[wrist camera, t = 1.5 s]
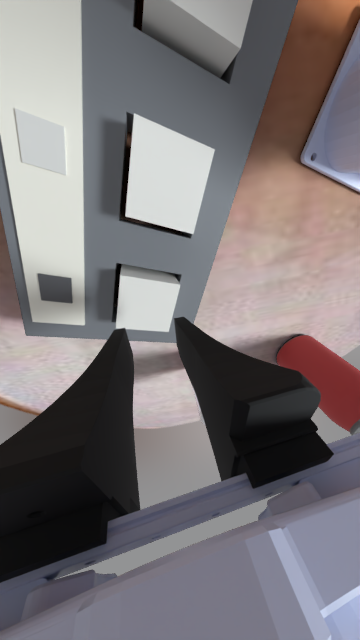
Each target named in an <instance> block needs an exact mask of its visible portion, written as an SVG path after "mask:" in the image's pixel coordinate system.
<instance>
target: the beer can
mask: <svg viewBox="0 0 360 640" xmlns="http://www.w3.org/2000/svg"><path fill="white" fill-rule="evenodd" d="M277 363H278V365H279V366H281V367H285V368H289V369H293V370H297V371H299V372H300V373H301V374H303V375H304V376H305V377H306V378H307V379H308V380H309V381H310V382H311V383H312V384H313V385H314V386H315V387H316V388H317V389H318V390H319V391H320V393H321V401H320V403H319V405H318V407H319V408H320V409H321V410H322V411H323V412H324V413H325V414H326V415H327V416H328V417H329V418H330V419H331V420H332V421H333V422H335V423H336V424H338V425H339V426H341V427H342V428H344V429H345V430H347V431H349V432H350V433H351V434H352V435H354V434H357V433H360V371H359V370H358V369H356V368H355V367H354V366H352V365H351V364H349V363H348V362H347V361H345V360H344V359H342V358H341V357H339V356H338V355H337V354H335V353H334V352H332V351H331V350H330V349H328V348H327V347H325V346H324V345H322V344H321V343H320V342H318V341H317V340H315V339H314V338H313V337H310V336H308V335H301V336H297V337H294V338H292V339H290V340H289V341H287V342H286V343H285V344H284V345H283V346H282V347H281V348H280V350H279V352H278V354H277Z"/></svg>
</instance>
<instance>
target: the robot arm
mask: <svg viewBox="0 0 360 640" xmlns="http://www.w3.org/2000/svg"><path fill="white" fill-rule="evenodd" d="M311 156H313V158H312V160H311ZM301 162H302V163H303V164H305V165H307V166H309V167H310V168H312V169H314V170H316V171H318V172H320V173H322V174H324V175H326V176H328V177H330V178H332V179H334V180H336V181H338V182H340V183H342V184H344V185H346V186H348V187H350V188H352V189H354V190H355V191H357V192H359V193H360V20H359V22H358V24H357V26H356V29H355V31H354V33H353V36H352V38H351V40H350V43H349V45H348V47H347V50H346V52H345V54H344V57H343V59H342V61H341V64H340V66H339V68H338V70H337V73H336V75H335V77H334V80H333V82H332V84H331V87H330V89H329V91H328V94H327V96H326V98H325V101H324V103H323V105H322V108H321V110H320V112H319V114H318V117H317V119H316V121H315V124H314V126H313V128H312V131H311V133H310V135H309V138H308V140H307V142H306V145H305V147H304V149H303V152H302V154H301ZM174 324H175V333H176V342H177V347H178V350H179V354H180V357H181V360H182V362H183V365H184V367H185V369H186V372H187V374H188V376H189V379H190V381H191V383H192V386H193V388H194V391H195V393H196V396H197V399H198V402H199V406H200V409H201V412H202V415H203V418H204V422H205V425H206V428H207V432H208V435H209V438H210V442H211V445H212V449H213V452H214V455H215V459H216V463H217V466H218V470H219V473H220V477H221V482H218V483H215V484H213V485H210V486H207V487H204V488H201V489H198V490H196V491H193V492H190V493H187V494H184V495H181V496H179V497H176V498H173V499H170V500H167V501H164V502H162V503H159V504H156V505H153V506H150V507H147V508H145V509H142V510H140V502H139V491H138V481H137V470H136V457H135V443H134V428H133V384H134V361H133V353H132V350H131V346H130V343H129V339H128V336H127V333H126V329H125V328H121V329H116V330H114V331H113V332H112V334H111V335H110V337H109V339H108V340H107V342H106V343H105V345H104V346H103V348H102V349H101V351H100V352H99V354H98V355H97V356H96V358H95V359H94V360H93V362H92V363H91V364H90V365H89V367H88V368H87V369H86V370H85V372H84V373H83V374H82V375H81V376H80V377H79V378H78V379H77V380H76V382H75V383H74V384H73V385H72V386H71V387H70V388H69V389H68V390H66V391H65V392H64V393H63V394H62V395H61V396H60V397H59V398H58V399H57V400H56V401H55V402H54V403H53V404H52V405H50V406H49V407H48V408H47V409H46V410H45V411H43V412H42V413H41V414H40V415H39V416H37V417H36V418H35V419H34V420H33V421H32V422H30V423H29V424H28V425H26V426H25V427H24V428H22V429H21V430H20V431H19V432H17V433H16V434H15V435H13V436H12V437H10V438H9V439H8V440H6V441H5V442H4V443H2V444H1V445H0V640H360V433H357V434H354V435H352V436H349V437H346V438H343V439H340V440H337V441H335V442H332V443H329V444H326V443H325V442H324V441H323V440H322V439H321V437H320V436H319V435H318V434H317V433H316V431H317V430H318V428H317V426H316V425H315V423H314V422H313V421H312V420H311V417H312V415H313V414H314V412H315V410H316V409H317V407H318V405H319V403H320V401H321V393H320V391H319V390H318V389H317V388H316V387H315V386H314V385H313V384H312V383H311V382H310V381H309V380H308V379H307V378H306V377H305V376H304V375H303V374H301V373H300V372H299V371H297V370H293V369H289V368H285V367H281V366H278V365H274V364H270V363H267V362H264V361H261V360H258V359H255V358H253V357H250V356H248V355H245V354H243V353H240V352H238V351H236V350H234V349H231V348H229V347H227V346H226V345H224V344H222V343H220V342H218V341H216V340H215V339H213V338H212V337H210V336H209V335H207V334H206V333H204V332H203V331H201V330H200V329H199V328H197V327H196V326H195V325H194V324H192V323H191V322H190V321H189V320H188V319H186V318H185V317H179V318H174ZM281 492H282V493H281ZM278 493H280V494H279V495H277V496H275V497H273V498H271V499H270V500H268V502H267V505H268V506H267V508H266V509H265V510H264V511H263V512H262V513H261V514H260V515H259V517H258V521H255V522H252V523H249V524H247V525H244V526H241V527H238V528H235V529H232V530H229V531H227V532H224V533H222V534H219V535H216V536H213V537H211V538H208V539H206V540H203V541H200V542H198V543H195V544H193V545H190V546H188V547H185V548H183V549H181V550H178V551H175V552H173V553H171V554H168V555H166V556H163V557H161V558H159V559H156V560H154V561H152V562H149V563H147V564H145V565H142V566H140V567H138V568H136V569H133V570H131V571H129V572H127V573H124V574H122V575H120V576H118V577H117V575H116V574H115V573H114V574H98V573H95V571H94V570H89V571H85V572H81V573H78V574H74V575H70V576H67V577H63V578H60V577H62V576H65V575H68V574H70V573H73V572H75V571H78V570H81V569H83V568H86V567H88V566H91V565H94V564H96V563H99V562H101V561H104V560H107V559H109V558H112V557H114V556H117V555H120V554H122V553H125V552H127V551H130V550H133V549H135V548H138V547H140V546H143V545H146V544H148V543H151V542H154V541H156V540H159V539H161V538H164V537H167V536H169V535H172V534H174V533H177V532H180V531H182V530H185V529H187V528H190V527H193V526H195V525H198V524H200V523H203V522H206V521H208V520H211V519H213V518H216V517H219V516H221V515H224V514H226V513H229V512H232V511H234V510H237V509H239V508H242V507H245V506H247V505H250V504H252V503H255V502H258V501H260V500H263V499H265V498H268V497H271V496H273V495H276V494H278ZM57 578H59V579H57Z"/></svg>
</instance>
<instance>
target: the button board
mask: <svg viewBox="0 0 360 640" xmlns="http://www.w3.org/2000/svg"><path fill="white" fill-rule="evenodd" d="M297 2H298V0H253V2H252V5H251V9H250V13H249V17H248V21H247V25H246V29H245V33H244V37H243V41H242V45H241V49H240V50H239V52H238V53H237V55H236V56H235V57H234V59H233V60H232V62H231V63H230V65H229V66H228V68H227V69H226V70H225V72H224V73H223V75H222V76H221V78H218V77H217V76H215V75H213V74H212V73H210V72H208V71H207V70H205V69H203V68H202V67H200V66H198V65H197V64H195V63H193V62H192V61H190V60H188V59H187V58H185V57H183V56H182V55H180V54H178V53H177V52H175V51H173V50H172V49H170V48H168V47H167V46H165V45H163V44H162V43H160V42H158V41H157V40H155V39H153V38H152V37H150V36H148V35H146V34H145V33H143V32H141V31H140V30H138V29H136V28H135V21H136V8H137V0H0V209H1V214H2V219H3V224H4V229H5V234H6V239H7V244H8V249H9V254H10V259H11V264H12V269H13V274H14V279H15V284H16V289H17V294H18V299H19V304H20V309H21V314H22V319H23V324H24V329H25V334H26V336H45V337H65V338H85V339H106V340H108V339H109V337H110V335H111V334H112V332H113V331H114V330H116V329H118V328H116V319H117V308H118V307H114V301H115V288H116V275H117V263H120V264H126V265H131V266H137V267H142V268H148V269H153V270H159V271H164V272H170V273H173V274H174V276H175V277H176V279H177V280H178V282H179V283H180V289H179V293H178V297H177V301H176V305H175V309H174V313H173V317H172V321H171V325H170V328H169V332H161V331H147V330H132V329H126V333H127V336H128V339H129V341H146V342H167V343H177V342H176V333H175V324H174V318H179V317H185V318H186V319H188V320H189V321H190V322H191V323H192V324H193V323H194V320H195V317H196V314H197V311H198V308H199V305H200V302H201V299H202V296H203V293H204V289H205V286H206V283H207V280H208V277H209V274H210V271H211V268H212V265H213V262H214V259H215V255H216V252H217V249H218V246H219V243H220V240H221V237H222V234H223V231H224V228H225V225H226V222H227V218H228V215H229V212H230V209H231V206H232V203H233V200H234V197H235V194H236V191H237V188H238V184H239V181H240V178H241V175H242V172H243V169H244V166H245V163H246V160H247V157H248V154H249V151H250V147H251V144H252V141H253V138H254V135H255V132H256V129H257V126H258V123H259V120H260V117H261V113H262V110H263V107H264V104H265V101H266V98H267V95H268V92H269V89H270V86H271V83H272V80H273V76H274V73H275V70H276V67H277V64H278V61H279V58H280V55H281V52H282V49H283V46H284V42H285V39H286V36H287V33H288V30H289V27H290V24H291V21H292V18H293V15H294V12H295V9H296V5H297ZM134 113H135V114H137V115H139V116H141V117H144V118H146V119H148V120H150V121H153V122H155V123H157V124H159V125H161V126H164V127H166V128H168V129H170V130H173V131H175V132H177V133H179V134H182V135H184V136H186V137H188V138H190V139H193V140H195V141H197V142H199V143H202V144H204V145H206V146H208V147H211V148H213V149H215V151H214V155H213V159H212V163H211V167H210V171H209V175H208V179H207V183H206V187H205V191H204V195H203V199H202V202H201V206H200V210H199V214H198V218H197V222H196V226H195V230H194V234H190V233H186V232H183V231H182V234H179V233H175V232H171V231H167V230H163V229H160V228H156V227H152V226H148V225H144V224H140V223H136V222H132V221H128V220H125V219H121V208H122V195H123V181H124V168H125V155H126V141H127V132H129V133H132V131H133V120H134Z"/></svg>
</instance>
